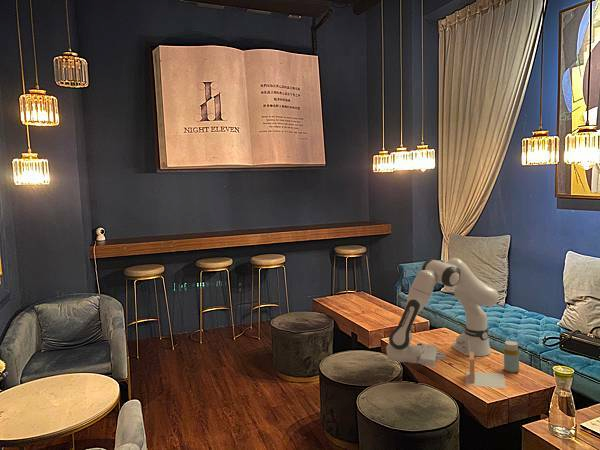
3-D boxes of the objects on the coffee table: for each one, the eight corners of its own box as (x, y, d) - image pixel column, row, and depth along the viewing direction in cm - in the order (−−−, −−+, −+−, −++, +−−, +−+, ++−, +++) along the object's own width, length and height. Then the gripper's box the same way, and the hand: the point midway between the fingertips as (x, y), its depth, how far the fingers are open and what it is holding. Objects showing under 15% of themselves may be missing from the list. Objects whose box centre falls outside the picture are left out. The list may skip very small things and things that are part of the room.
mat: (465, 386, 235) (465, 385, 235) (466, 372, 250) (466, 371, 250) (505, 389, 229) (505, 388, 229) (503, 374, 244) (503, 373, 244)
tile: (470, 382, 237) (469, 359, 235) (470, 373, 246) (469, 351, 245) (474, 382, 236) (474, 359, 235) (474, 374, 245) (473, 351, 244)
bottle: (520, 374, 243) (520, 345, 241) (506, 373, 245) (505, 345, 243) (517, 368, 250) (516, 340, 248) (503, 368, 251) (502, 340, 250)
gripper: (415, 356, 238) (444, 358, 234) (419, 341, 257) (446, 343, 253) (416, 368, 239) (445, 370, 234) (420, 353, 258) (447, 355, 254)
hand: (445, 356), depth 244 cm, fingers closed
